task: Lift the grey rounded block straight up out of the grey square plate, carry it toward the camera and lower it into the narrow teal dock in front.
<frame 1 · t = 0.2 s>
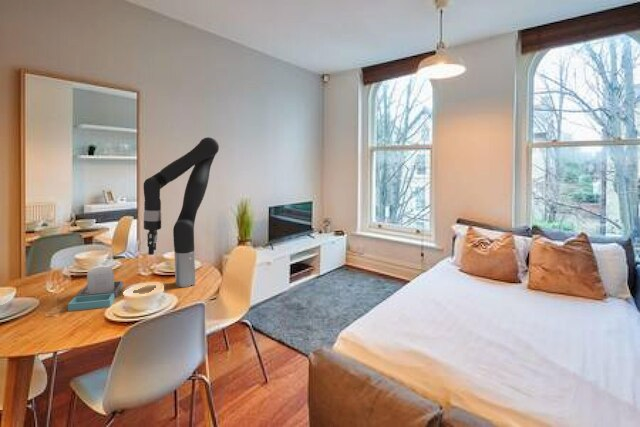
hand: (152, 252, 159), 18 cm above the table, tool pointing down, fingers open, 8 cm apart
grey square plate: (101, 292, 152), on the table
grey rounded block: (101, 293, 152), resting in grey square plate
dock: (92, 305, 139), on the table
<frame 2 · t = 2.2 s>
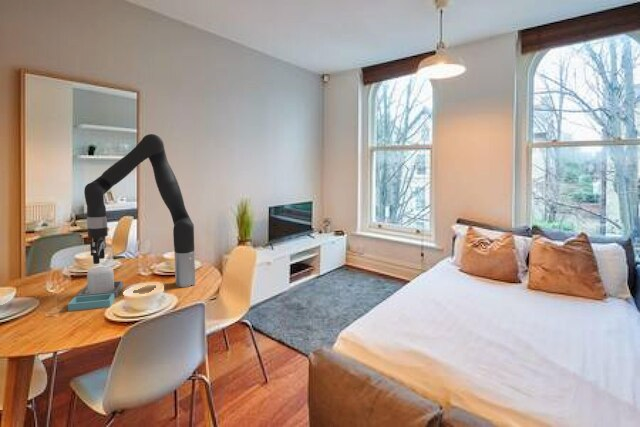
hand: (99, 261, 150), 15 cm above the table, tool pointing down, fingers open, 8 cm apart
nothing on the table moved.
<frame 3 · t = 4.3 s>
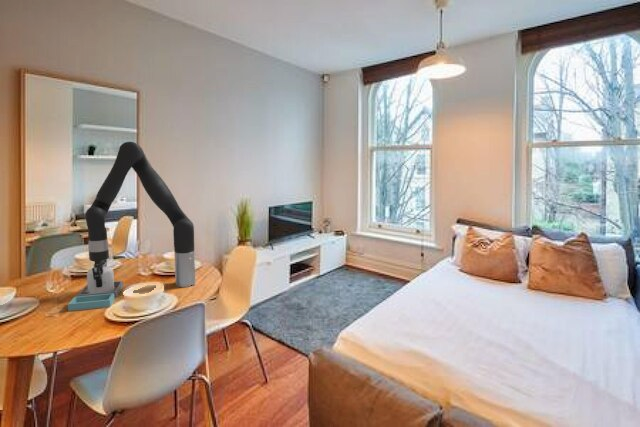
hand: (101, 284, 152), 4 cm above the table, tool pointing down, fingers closed on grey rounded block, 5 cm apart
grey rounded block: (101, 293, 152), resting in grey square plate, touching gripper
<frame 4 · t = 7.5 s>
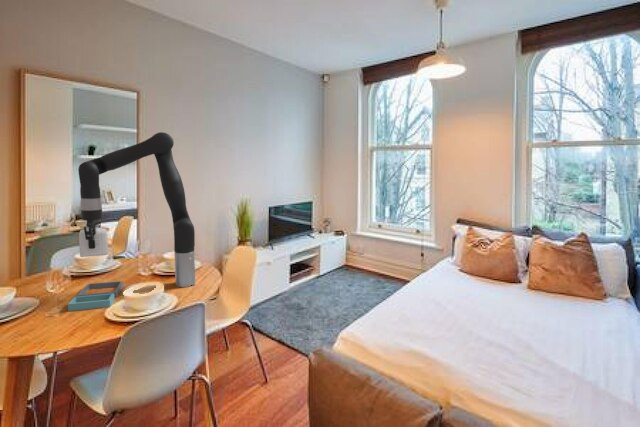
hand: (94, 246, 143), 23 cm above the table, tool pointing down, fingers closed on grey rounded block, 5 cm apart
grey rounded block: (94, 255, 144), point 19 cm above the table, touching gripper
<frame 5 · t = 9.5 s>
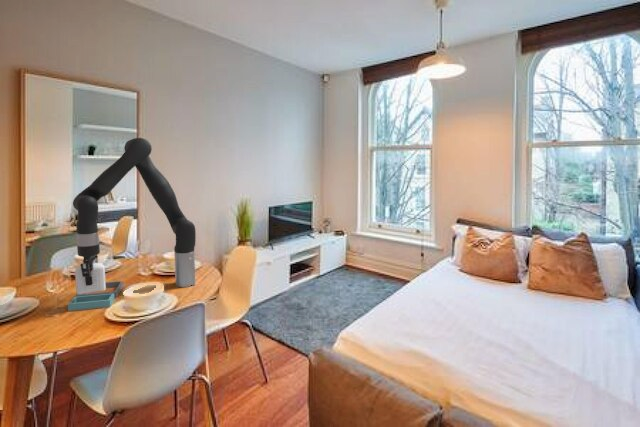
hand: (91, 282, 138), 10 cm above the table, tool pointing down, fingers closed on grey rounded block, 5 cm apart
grey rounded block: (91, 292, 138), point 6 cm above the table, touching gripper
when the fingers open (5 cm above the table, at t = 11.2 s): grey rounded block drops 1 cm, resting in dock.
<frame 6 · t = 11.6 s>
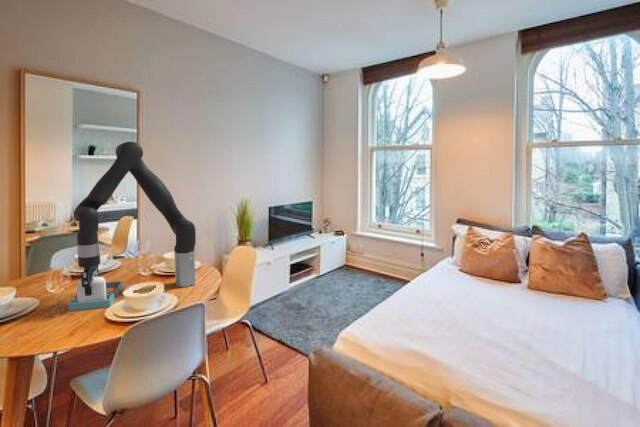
hand: (91, 291, 138), 6 cm above the table, tool pointing down, fingers open, 8 cm apart
grey rounded block: (92, 305, 139), resting in dock
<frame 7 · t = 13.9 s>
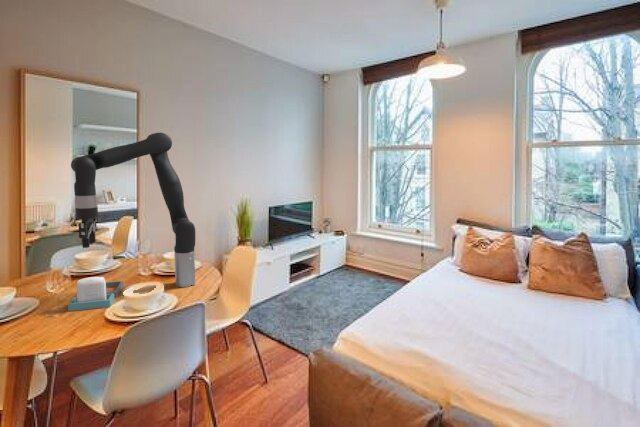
hand: (89, 245, 136), 26 cm above the table, tool pointing down, fingers open, 8 cm apart
nothing on the table moved.
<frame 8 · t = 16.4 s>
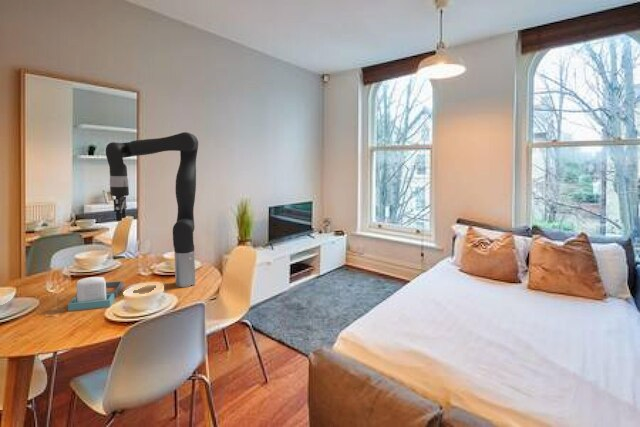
hand: (121, 219, 158), 33 cm above the table, tool pointing down, fingers open, 8 cm apart
nothing on the table moved.
at the end: grey rounded block 0.2 cm off-centre on the dock, point 0.0 cm above the dock's base; grey rounded block tilted 0°; the gripper is holding nothing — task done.
